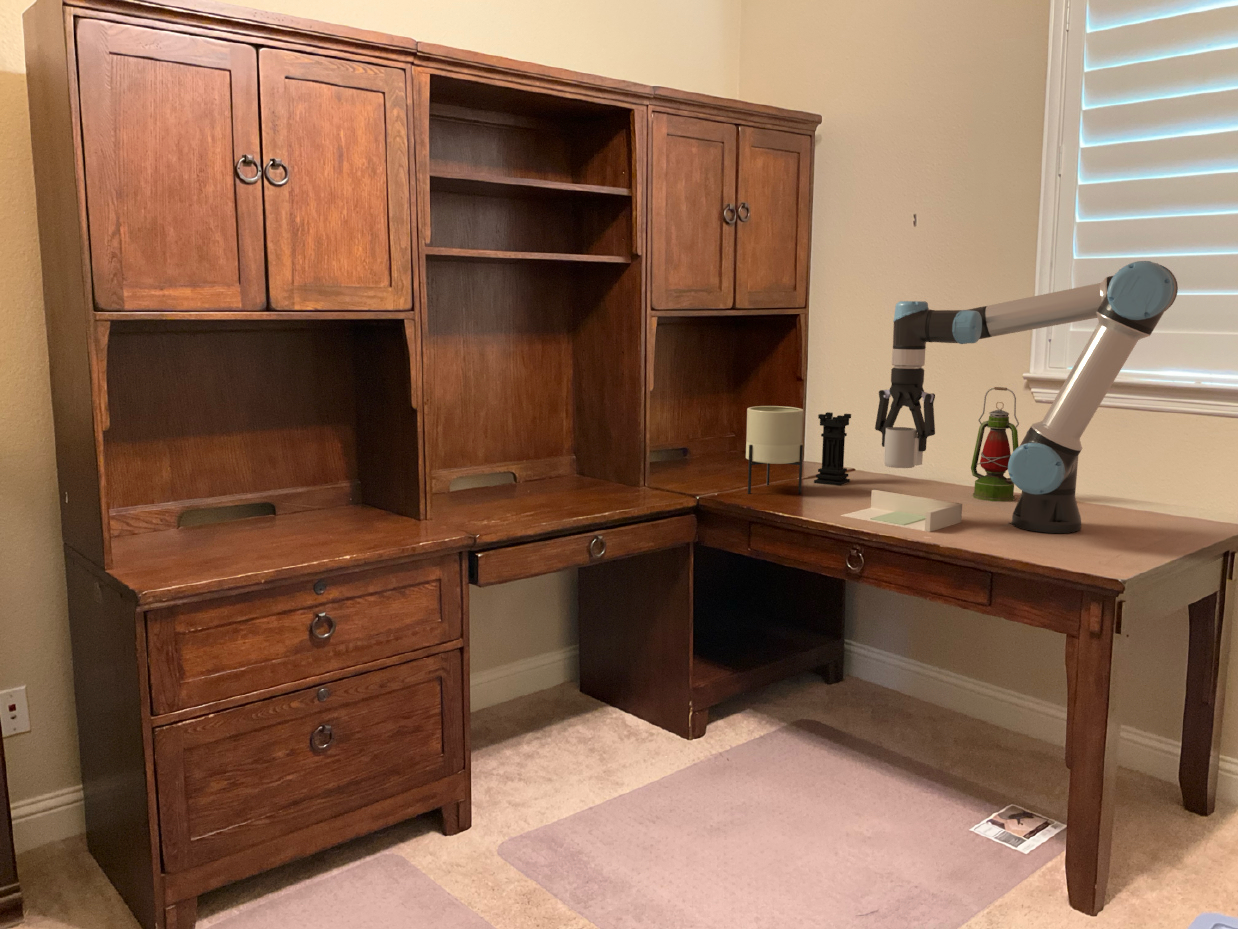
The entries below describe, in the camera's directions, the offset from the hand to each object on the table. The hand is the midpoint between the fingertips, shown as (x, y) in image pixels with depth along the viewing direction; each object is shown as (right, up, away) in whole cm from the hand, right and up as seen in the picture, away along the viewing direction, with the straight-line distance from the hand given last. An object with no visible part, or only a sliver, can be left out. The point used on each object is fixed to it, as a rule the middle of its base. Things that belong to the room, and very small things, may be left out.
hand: (902, 462), depth 245 cm
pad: (0, -14, +2) cm, 14 cm away
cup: (0, -1, 0) cm, 1 cm away
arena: (0, -14, +2) cm, 14 cm away
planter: (-25, -8, +39) cm, 47 cm away
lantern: (+33, -10, +32) cm, 47 cm away
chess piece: (-6, -6, +53) cm, 54 cm away
